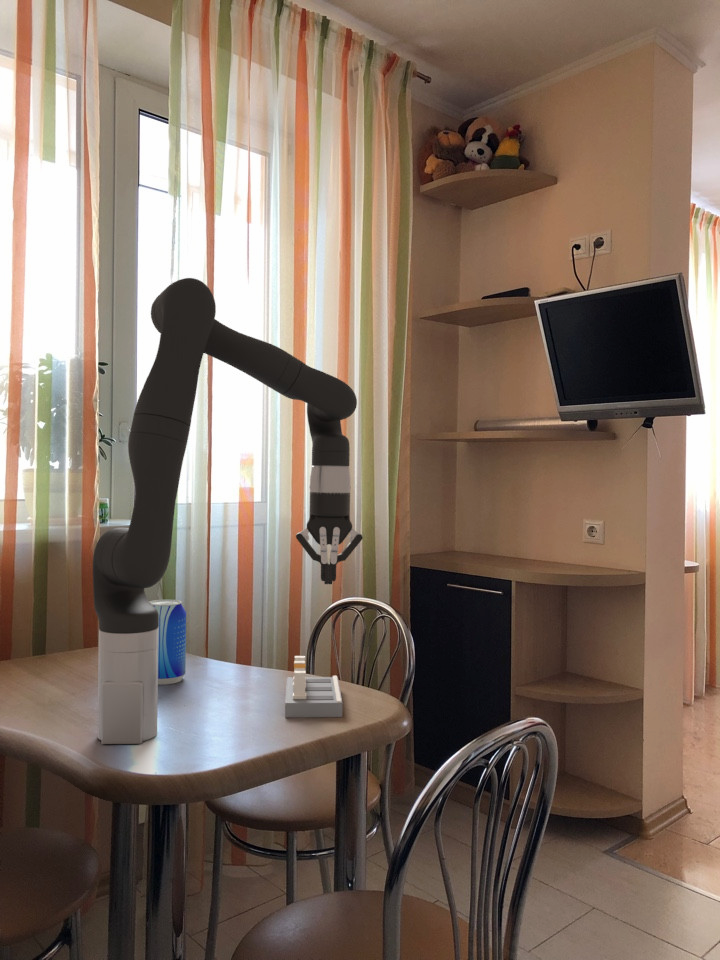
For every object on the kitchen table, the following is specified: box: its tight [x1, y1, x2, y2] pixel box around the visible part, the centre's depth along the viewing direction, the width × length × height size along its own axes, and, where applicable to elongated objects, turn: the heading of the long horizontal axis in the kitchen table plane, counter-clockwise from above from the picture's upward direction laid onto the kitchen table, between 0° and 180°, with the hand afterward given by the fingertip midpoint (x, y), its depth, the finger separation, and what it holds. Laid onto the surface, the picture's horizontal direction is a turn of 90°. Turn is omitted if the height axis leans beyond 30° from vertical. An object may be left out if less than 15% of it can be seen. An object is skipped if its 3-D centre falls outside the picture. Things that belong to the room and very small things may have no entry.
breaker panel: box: [284, 655, 343, 718], centre depth 150 cm, size 18×10×7 cm, turn 4°
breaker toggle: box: [293, 660, 306, 688], centre depth 150 cm, size 2×2×5 cm
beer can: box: [149, 599, 187, 686], centre depth 165 cm, size 8×8×16 cm
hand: (328, 583), depth 150 cm, fingers closed
